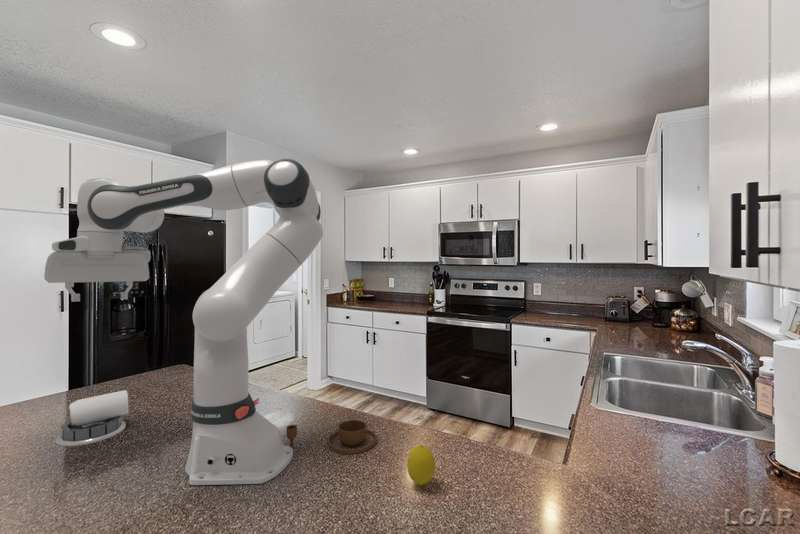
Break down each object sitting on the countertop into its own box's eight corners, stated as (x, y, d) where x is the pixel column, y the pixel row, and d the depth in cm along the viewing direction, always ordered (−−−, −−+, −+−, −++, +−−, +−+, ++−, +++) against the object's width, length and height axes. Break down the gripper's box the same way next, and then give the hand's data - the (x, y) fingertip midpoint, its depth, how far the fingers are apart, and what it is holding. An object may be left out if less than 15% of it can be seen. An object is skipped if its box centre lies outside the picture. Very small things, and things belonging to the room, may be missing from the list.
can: (129, 402, 99) (69, 416, 91) (129, 418, 101) (70, 433, 94) (127, 384, 103) (69, 396, 95) (127, 400, 106) (70, 413, 98)
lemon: (426, 497, 70) (426, 454, 70) (402, 487, 73) (402, 447, 73) (439, 482, 75) (439, 442, 75) (416, 474, 78) (415, 436, 78)
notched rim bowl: (138, 424, 102) (138, 412, 102) (88, 448, 88) (88, 434, 88) (95, 420, 105) (95, 409, 105) (39, 444, 91) (39, 430, 91)
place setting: (361, 467, 81) (361, 440, 81) (281, 454, 87) (281, 429, 87) (386, 433, 98) (386, 411, 98) (318, 424, 104) (318, 403, 104)
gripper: (150, 246, 101) (150, 297, 101) (47, 244, 89) (47, 301, 89) (151, 245, 96) (151, 299, 96) (42, 242, 84) (42, 303, 84)
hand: (100, 300), depth 93 cm, fingers open, 8 cm apart
